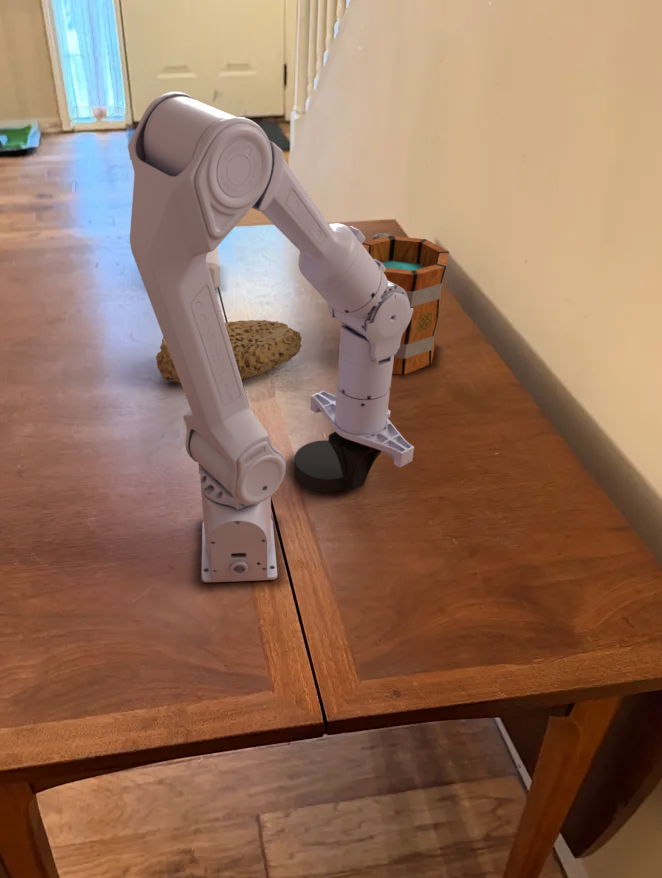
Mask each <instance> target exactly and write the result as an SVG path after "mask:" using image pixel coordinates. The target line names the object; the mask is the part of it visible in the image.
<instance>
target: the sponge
mask: <svg viewBox="0 0 662 878" xmlns="http://www.w3.org/2000/svg"><path fill="white" fill-rule="evenodd" d="M224 322H225V326H226V329H227V333H228V336H229V339H230V343H231V346H232V350H233V353H234V356H235V360H236V363H237V366H238V370H239V373H240V377H241V380H242V379H249V378H250V377H253V376H259V375H262V374H264V373H265V372H267V371H270V370H272V369H274V368H275V367H276V366H279V365H281V364H284V363H287V362H289V361H291V359H293V358H294V357H295V356H296V355H297V354H299V353H300V350H301V348H302V347H303V346H302V339H303V337H302V336H301V332H299V331H296V330H295V329H293V328H291V327H289V326H288V324H286V323H284V322H282V321H281V322H279V321H277V320H276V321H273V320H272V321H271V320H266V319H262V320H260V319H259V320H258V319H256V320H254V319H251V320H237V321H232V320H231V321H224ZM159 349H160V351H159V352H157V354H156V356H155V359H156V367H157V370H158V371H159V373H160V375H161V377H162V378H163V379H164V380H165V381H170V382H176V383H177V382H178V383H181V382H180V379H179V377H178V374H177V371H176V369H175V366H174V363H173V361H172V358H171V355H170V353H169V350H168V347H167V345H166V342H165V339H164V337H163V336H162V339H161V344H160V346H159Z"/></svg>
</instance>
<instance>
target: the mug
mask: <svg viewBox="0 0 662 878" xmlns="http://www.w3.org/2000/svg"><path fill="white" fill-rule="evenodd" d="M362 245H363V246H364V248H365V249H366V250H367V252H368V253H369V254H370V256H371V257H372V258H373V260H374V259H375V260H377V261H379V262H381V263H382V264H383V265H384V266H385V268H386V270H385V272H384V274H385V276H386V278H387V280H388V281H390V282H392V283H394V284H396V285H398V286H400V287H401V288H403V289H404V290H405V292H406V293H407V296H408V300H409V303H410V307H411V308H413V314H412V317H411V320H410V322H409V324H408V326H407V328H406V329H405V331H404V333H403V335H402V337H401V342H400V348H399V349H398V350H397V353H396V354H395V355H394V361H393V370H392V375H401V376H404V375H407V374H410V373H413V372H416V371H419V370H421V369H425V368H428V367H431V366H432V363H433V358H434V352H435V340H436V339H435V337H436V336H435V335H436V329H437V324H438V320H439V316H440V311H441V304H442V298H443V297H442V296H443V282H444V277H445V274H446V273H445V272H446V269H447V265H448V260H449V255H450V251H449V250H447V249H445V248H443V247H442V246H439V245H438V244H436V243H434V242H432V241H430V240H428V239H426V238H417V237H407V236H397V235H390V234H389V233H388V232H380V233H376V234H374V235H373V237H372V239H371V240H367V241H363V243H362Z"/></svg>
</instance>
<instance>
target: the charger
mask: <svg viewBox="0 0 662 878" xmlns="http://www.w3.org/2000/svg"><path fill="white" fill-rule="evenodd" d="M206 262H207V265H208V268H209V272H210V275H211V278H212V282H213V285H214V289H215V290H217V289H219V288H220V287H221V268H220V257H219V245H218V246H217V247H216V248H215V250H213V251H211V252H208V254H207V256H206Z"/></svg>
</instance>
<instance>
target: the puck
mask: <svg viewBox="0 0 662 878" xmlns="http://www.w3.org/2000/svg"><path fill="white" fill-rule="evenodd" d="M293 473H294V477H295V479H296V480H297V482H299V484H300V485H302V486H303V487H305V488H307V489H309V490H311V491H314V492H320V493H338V492H342V491H344V490H348V488H347V487H346V486H345V483H344V479H343V474H342V470H341V466H340V463H339V460H338V457H337V455H336V453H335V451H334V449H333V447H332V446H331V444H330V443H329V439H328V440H314V441H311V442H308V443H306V444H304V445H302V446H301V447H300V448H299V449H298V450H297V451H296V452H295V455H294V463H293Z"/></svg>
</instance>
